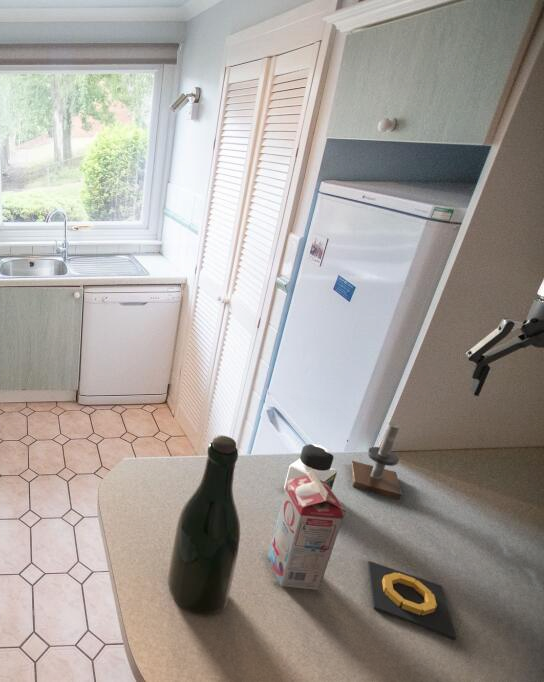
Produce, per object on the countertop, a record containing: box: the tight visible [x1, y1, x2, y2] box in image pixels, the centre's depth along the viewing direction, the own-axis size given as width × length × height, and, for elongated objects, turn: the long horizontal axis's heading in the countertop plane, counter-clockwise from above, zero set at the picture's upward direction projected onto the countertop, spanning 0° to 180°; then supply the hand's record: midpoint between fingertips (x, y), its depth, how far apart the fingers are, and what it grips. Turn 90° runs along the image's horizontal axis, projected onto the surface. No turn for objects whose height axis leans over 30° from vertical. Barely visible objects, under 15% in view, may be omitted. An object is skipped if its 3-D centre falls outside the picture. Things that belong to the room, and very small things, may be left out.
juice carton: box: [267, 467, 346, 591], centre depth 81 cm, size 7×7×22 cm
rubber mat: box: [367, 560, 457, 640], centre depth 80 cm, size 11×11×1 cm
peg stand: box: [350, 422, 403, 501], centre depth 105 cm, size 9×9×16 cm
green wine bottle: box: [167, 435, 241, 617], centre depth 76 cm, size 10×10×33 cm
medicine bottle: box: [283, 443, 338, 491], centre depth 103 cm, size 7×7×12 cm
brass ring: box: [382, 572, 437, 616], centre depth 80 cm, size 7×7×1 cm
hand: (518, 400), depth 91 cm, fingers open, 13 cm apart
